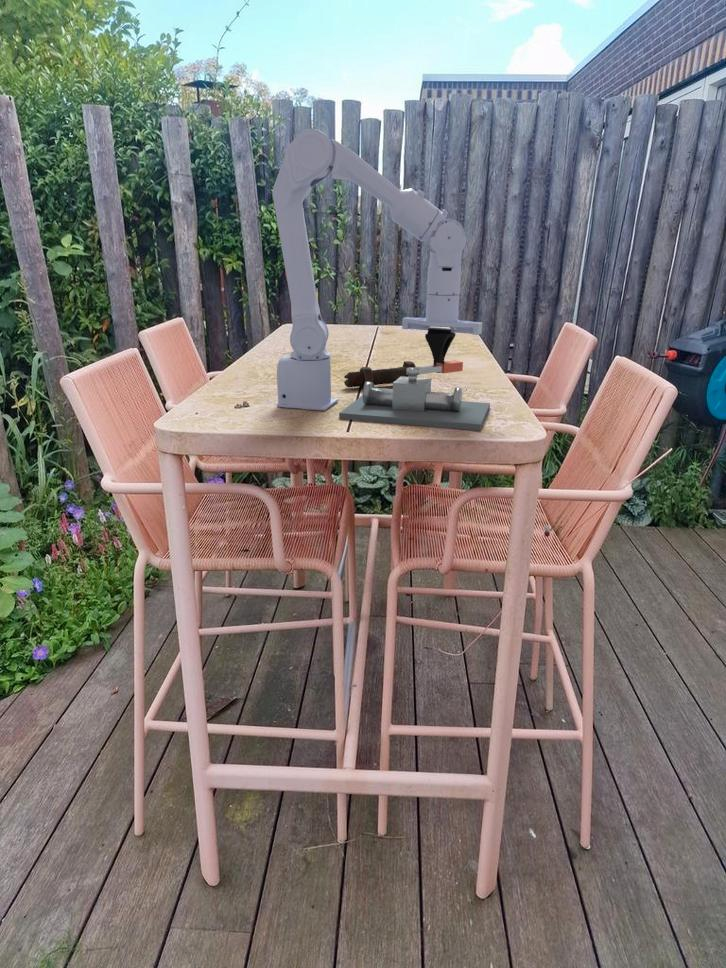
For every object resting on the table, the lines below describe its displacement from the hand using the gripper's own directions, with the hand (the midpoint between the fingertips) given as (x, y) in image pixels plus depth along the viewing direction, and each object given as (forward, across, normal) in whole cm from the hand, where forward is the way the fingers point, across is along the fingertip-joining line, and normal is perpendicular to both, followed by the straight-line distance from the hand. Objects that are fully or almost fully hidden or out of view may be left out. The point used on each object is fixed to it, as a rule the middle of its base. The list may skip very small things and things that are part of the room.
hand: (438, 371), depth 109 cm
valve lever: (0, +1, -4) cm, 4 cm away
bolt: (+7, -17, +9) cm, 20 cm away
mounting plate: (+6, -1, -8) cm, 10 cm away
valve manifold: (+6, -2, -8) cm, 10 cm away
